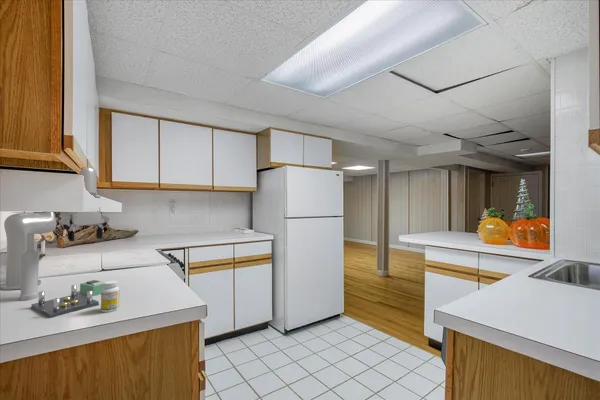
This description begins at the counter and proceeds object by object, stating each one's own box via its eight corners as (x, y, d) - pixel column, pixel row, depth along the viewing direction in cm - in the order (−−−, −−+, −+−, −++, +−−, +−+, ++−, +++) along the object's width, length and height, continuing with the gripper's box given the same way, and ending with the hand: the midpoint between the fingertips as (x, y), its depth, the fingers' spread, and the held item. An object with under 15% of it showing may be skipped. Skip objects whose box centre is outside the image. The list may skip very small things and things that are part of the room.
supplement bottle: (112, 312, 97) (113, 284, 97) (96, 312, 97) (97, 284, 97) (122, 306, 103) (123, 280, 103) (107, 306, 103) (108, 279, 103)
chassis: (31, 307, 100) (31, 292, 100) (78, 296, 112) (78, 283, 112) (50, 317, 92) (50, 301, 92) (98, 304, 104) (99, 290, 104)
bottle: (40, 297, 110) (42, 232, 111) (22, 301, 106) (24, 234, 106) (35, 295, 113) (36, 232, 113) (17, 299, 109) (19, 233, 109)
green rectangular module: (79, 293, 117) (80, 282, 117) (95, 289, 123) (95, 278, 123) (93, 296, 113) (93, 285, 113) (108, 292, 119) (109, 281, 119)
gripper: (104, 198, 126) (104, 237, 126) (55, 197, 112) (55, 241, 111) (112, 197, 122) (113, 237, 122) (63, 197, 108) (63, 242, 107)
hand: (85, 239), depth 117 cm, fingers open, 9 cm apart
